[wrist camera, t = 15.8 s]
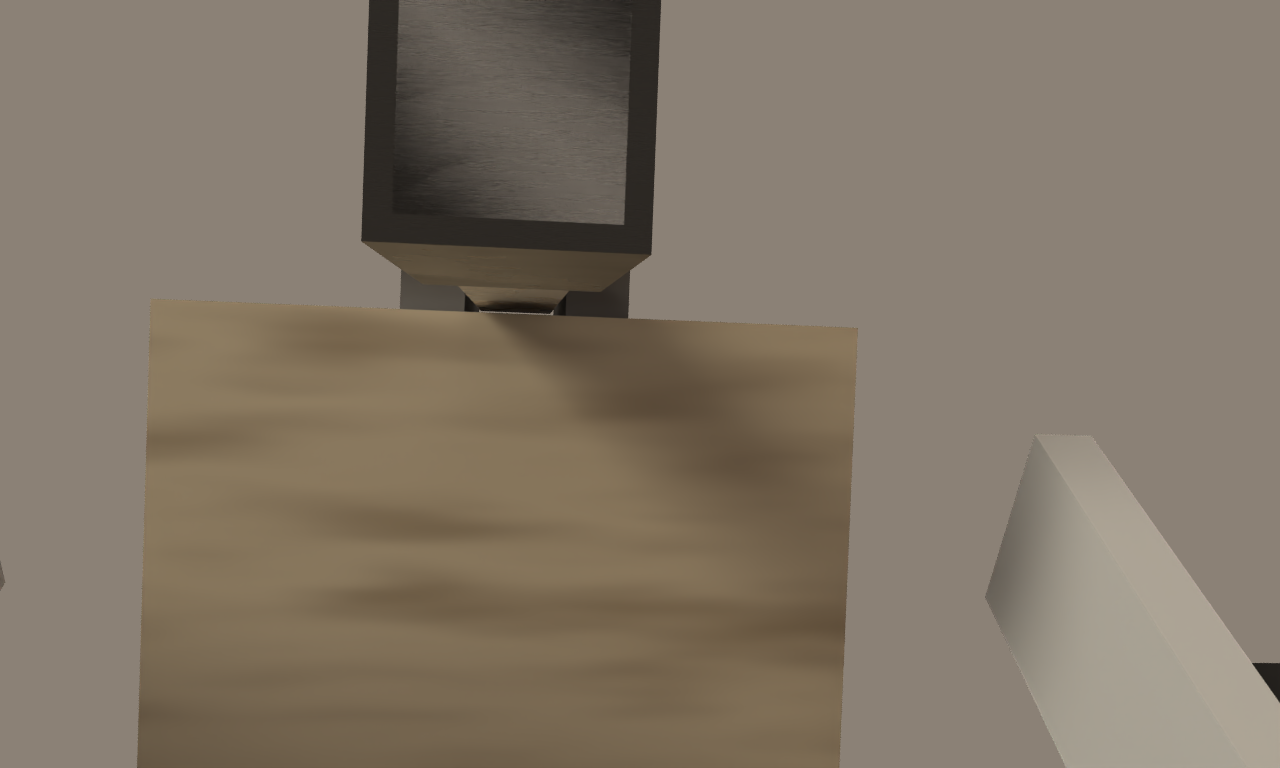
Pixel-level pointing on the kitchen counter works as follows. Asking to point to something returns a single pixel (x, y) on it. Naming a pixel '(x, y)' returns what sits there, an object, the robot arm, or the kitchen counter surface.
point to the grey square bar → (511, 144)
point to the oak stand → (492, 537)
